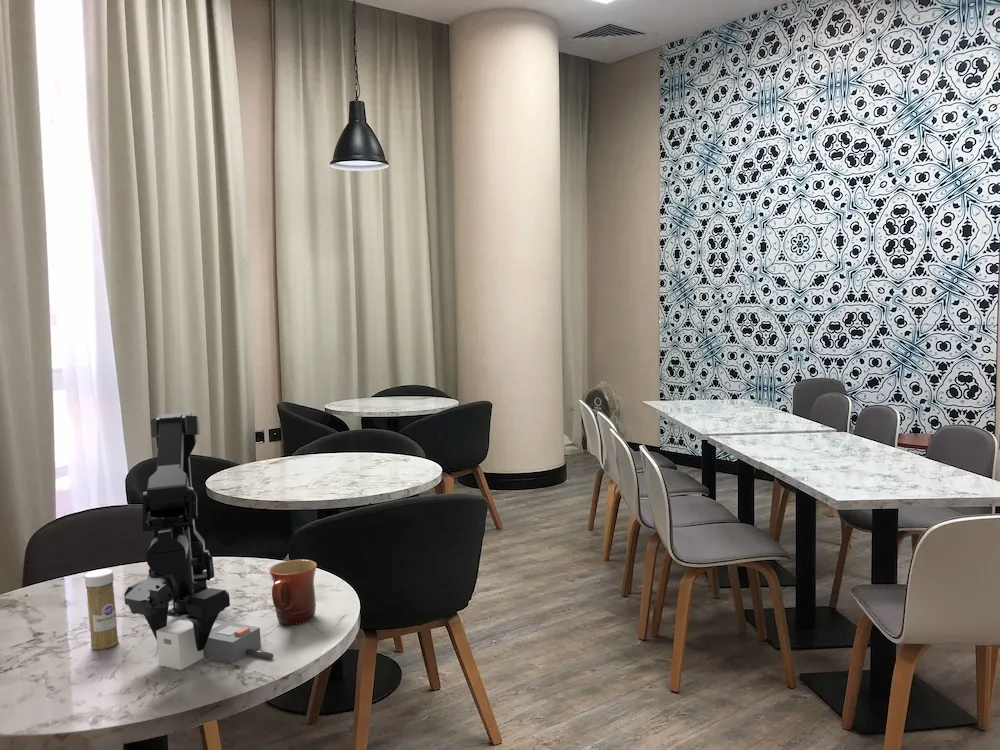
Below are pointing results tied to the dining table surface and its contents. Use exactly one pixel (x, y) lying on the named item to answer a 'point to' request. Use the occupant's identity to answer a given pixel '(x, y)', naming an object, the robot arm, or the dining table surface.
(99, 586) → the sprinkles bottle
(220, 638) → the power strip
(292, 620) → the mug
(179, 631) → the block
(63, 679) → the dining table surface
